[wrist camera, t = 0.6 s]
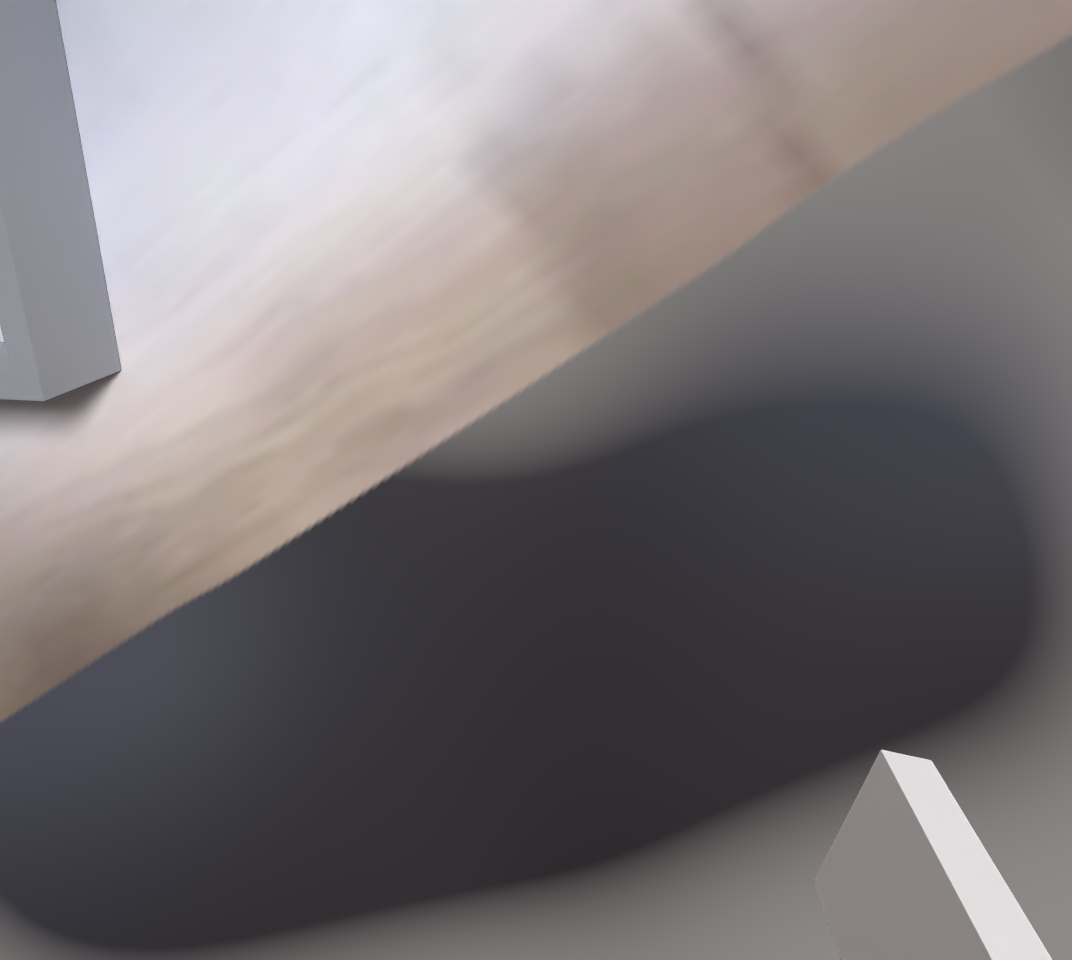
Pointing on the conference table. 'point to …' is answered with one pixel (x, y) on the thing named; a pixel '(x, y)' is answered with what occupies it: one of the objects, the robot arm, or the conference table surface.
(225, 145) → the conference table surface
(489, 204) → the conference table surface
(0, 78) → the grey bin
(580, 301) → the conference table surface
